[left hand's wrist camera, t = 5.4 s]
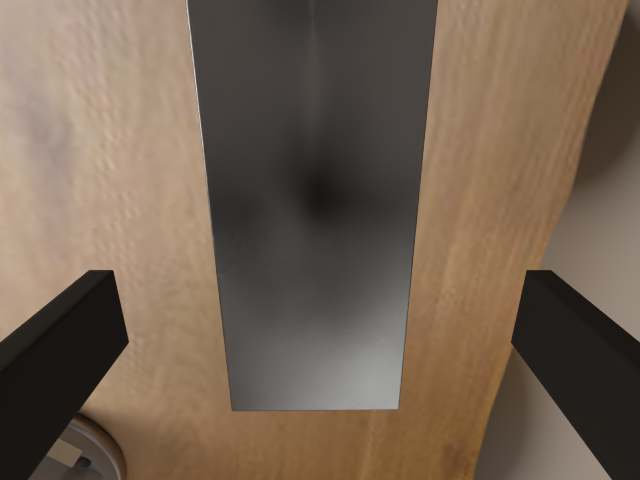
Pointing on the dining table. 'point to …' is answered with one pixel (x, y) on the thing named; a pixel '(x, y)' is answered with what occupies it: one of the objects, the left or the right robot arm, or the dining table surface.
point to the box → (313, 191)
